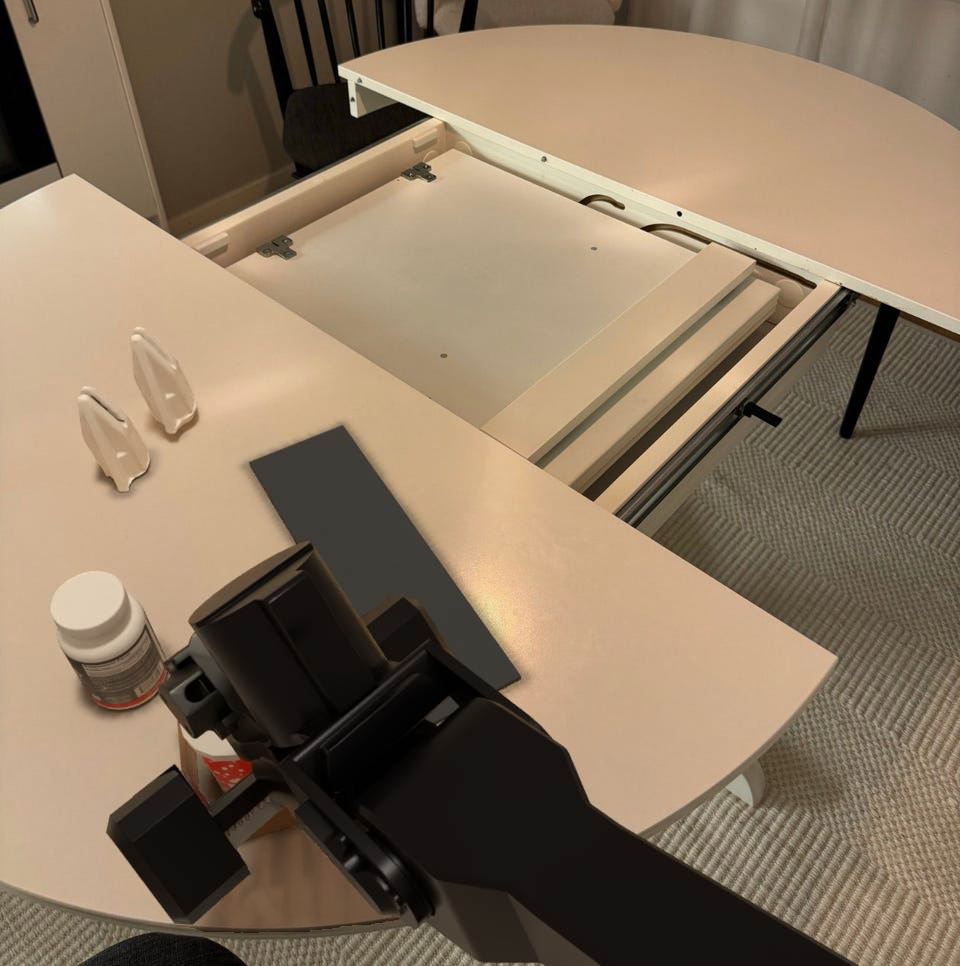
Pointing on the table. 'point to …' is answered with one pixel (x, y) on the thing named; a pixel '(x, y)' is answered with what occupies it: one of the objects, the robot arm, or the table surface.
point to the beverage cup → (219, 759)
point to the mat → (374, 545)
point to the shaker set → (113, 428)
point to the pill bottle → (108, 640)
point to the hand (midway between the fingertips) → (251, 726)
